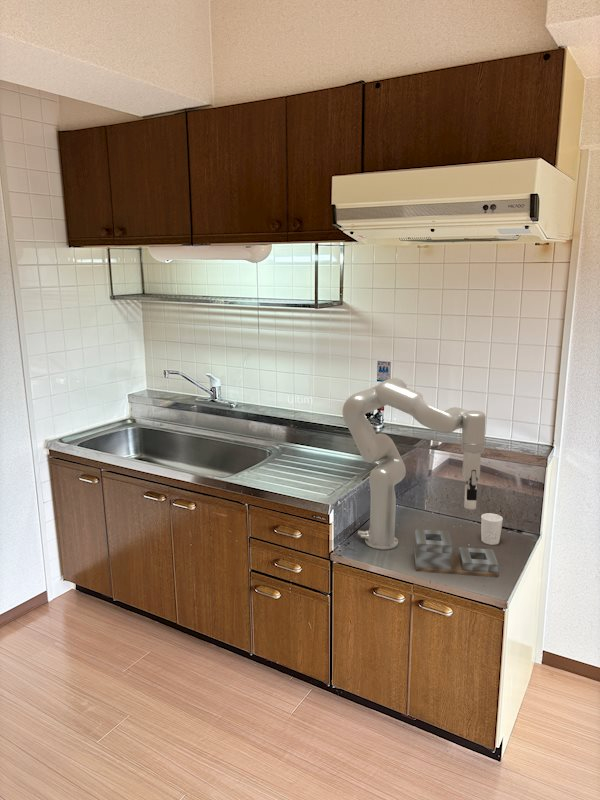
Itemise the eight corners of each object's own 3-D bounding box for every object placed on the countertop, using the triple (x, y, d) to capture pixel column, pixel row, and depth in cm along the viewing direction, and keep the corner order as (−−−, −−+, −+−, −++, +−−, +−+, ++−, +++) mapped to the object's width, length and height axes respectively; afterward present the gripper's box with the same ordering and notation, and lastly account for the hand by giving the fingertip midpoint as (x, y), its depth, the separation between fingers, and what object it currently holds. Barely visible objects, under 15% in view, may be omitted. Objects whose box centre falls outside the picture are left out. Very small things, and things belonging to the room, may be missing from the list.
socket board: (415, 571, 214) (417, 544, 212) (413, 553, 228) (415, 528, 226) (498, 576, 210) (500, 550, 208) (491, 558, 224) (493, 532, 222)
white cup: (484, 535, 244) (486, 511, 242) (503, 540, 239) (505, 516, 237) (476, 541, 238) (478, 517, 236) (496, 547, 233) (498, 523, 231)
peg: (464, 509, 212) (465, 487, 210) (463, 504, 216) (464, 483, 214) (476, 509, 211) (477, 487, 210) (475, 505, 215) (476, 483, 214)
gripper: (459, 440, 218) (457, 489, 222) (464, 453, 202) (462, 505, 205) (480, 440, 217) (478, 489, 220) (487, 454, 201) (485, 506, 204)
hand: (470, 497), depth 213 cm, fingers closed on peg, 4 cm apart
